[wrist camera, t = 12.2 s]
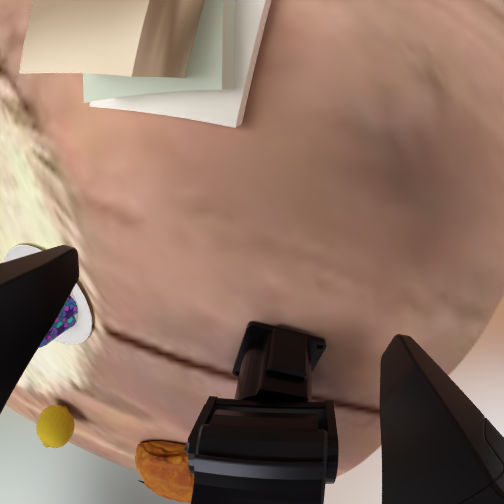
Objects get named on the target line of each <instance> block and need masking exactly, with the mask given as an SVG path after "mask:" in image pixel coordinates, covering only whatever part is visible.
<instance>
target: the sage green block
mask: <svg viewBox="0 0 504 504" xmlns="http://www.w3.org/2000/svg"><path fill="white" fill-rule="evenodd" d="M235 12H236V0H205V1H204V5H203V8H202V12H201V16H200V19H199V23H198V27H197V31H196V34H195V38H194V42H193V46H192V50H191V55H190V59H189V63H188V67H187V72H186V76H185V78H170V77H131V76H120V75H106V74H87V73H83V87H84V103H85V102H91V101H97V100H104V99H110V98H117V97H125V96H133V95H142V94H152V93H163V92H176V91H193V90H225V89H234V65H235Z"/></svg>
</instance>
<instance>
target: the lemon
mask: <svg viewBox="0 0 504 504" xmlns="http://www.w3.org/2000/svg"><path fill="white" fill-rule="evenodd" d="M73 431H74V419H73V417H72V415H71V413H70V412H69V410H68V407H67V406H59V405H51V406H49V407H47V408H46V409H44V410H43V411H42V413H41V414H40V416H39V419H38V422H37V434H38V436H39V438H40V440H41V441H42V442H43V445H44V446H46V447H53V448H58V447H61V446H63V445H65V444H66V443H67V442H68V441H69V439H70V438H71V436H72V434H73Z"/></svg>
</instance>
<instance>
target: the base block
mask: <svg viewBox="0 0 504 504" xmlns="http://www.w3.org/2000/svg"><path fill="white" fill-rule="evenodd" d="M270 4H271V0H236V12H235V65H234V89H225V90H193V91H176V92H163V93H152V94H142V95H133V96H125V97H117V98H110V99H104V100H97V101H91V102H90V107H101V108H112V109H121V110H130V111H138V112H146V113H153V114H160V115H167V116H173V117H180V118H186V119H192V120H197V121H203V122H208V123H213V124H219V125H224V126H229V127H233V128H236V127H237V126H239V125H240V124H242V121H243V116H244V112H245V107H246V103H247V99H248V94H249V90H250V86H251V81H252V77H253V73H254V68H255V64H256V60H257V56H258V52H259V48H260V44H261V39H262V35H263V31H264V27H265V23H266V19H267V16H268V12H269V8H270Z"/></svg>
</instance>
